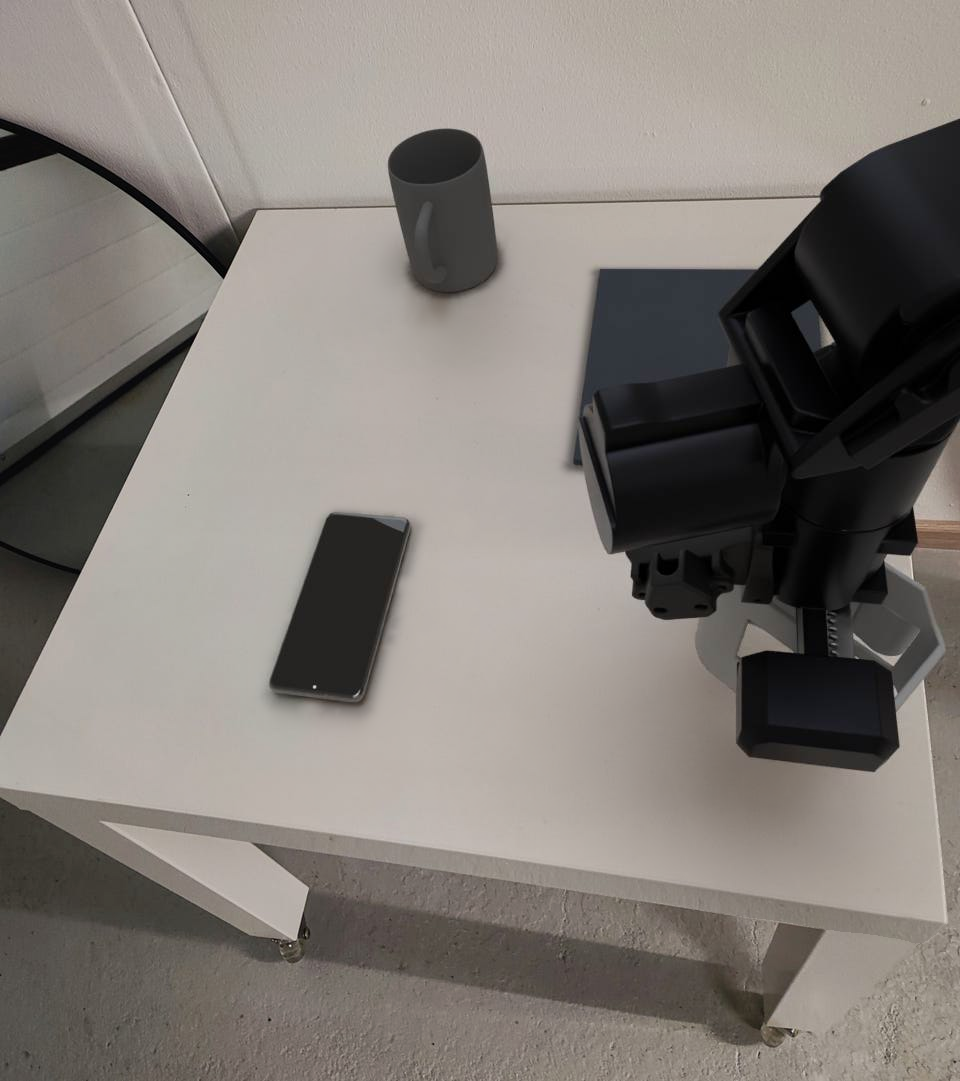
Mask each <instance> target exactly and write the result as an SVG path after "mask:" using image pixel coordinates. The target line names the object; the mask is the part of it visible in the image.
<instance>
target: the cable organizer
mask: <svg viewBox="0 0 960 1081" xmlns="http://www.w3.org/2000/svg"><path fill="white" fill-rule="evenodd" d="M885 570H886V579H887V588H888V595H887V596H886V598H885V600H884V601H883V603H882V605H880V604H867V603H855V602H851V614H852V626H853V635H855V636H856V637H858V638H859V640H861V641H862V642H863V643H864V645H863V643H861V642H860V641H858V640H856V639H855V638H854V651H855V658H856V659H865V660H875V661H876V662H878V663H880V664H881V665H883V666H884V667H886V668H887V669H889V670H890V671H892V678H893V688H894V689H895V691H896V695H894V697H895V707H896V713H897V712H898V711H899V710H900V709H901V707H903V705H904V704H905V703H906V701H907V700H908V699H909V698H910V697H911V695H912V694H913V693H914V691H915V690H916V689H917V688H918V687H919V686H920V684H921V683H922V682H923V681H924V680H925V678H926V677H927V675H928V674H930V672H931V671H932V670H933V668H934V667H935V666H936V665H937V664H938V662H939V661H940V660H941V659H942V657H943V656H944V655H945V654H946V653H947V648H946V644H945V640H944V637H943V635H942V632H941V630H940V628H939V625H938V623H937V620H936V617H935V614H934V609H933V607H932V603H931V600H930V596H929V593H928V590H927V588H926V587H925V585H923V584H921V583H920V582H918V581H916V580H915V579H913V578H911V577H910V576H909V575H907V574H905V573H903V572H902V571H900V570H899V569H897V568H895V567H894V566H892V565H891V564H890V563H888V562H887V561H885ZM826 613H827V611H826ZM826 618H827V620H828V618H831V617H829V616H827V614H826ZM748 625H752V626H754V627H757V628H759V629H761V630H762V631H764V632H765V633H766V634H768V635H769V636H771V637H772V638H774V640H777V641H778V642H779V643H781V644H782V645H783V646H785V647H786V648H788V649H789V650H790V651H791V653H797V634H796V609H795V607H792V606H789V605H787V604H784V603H782V602H780V601H779V600H777V599H776V597H775V596H773V599H772V602H771V603H770V604H767V605H766V604H754V603H742V602H741V585H734V589H733V591H731V592H729V593H723V594H721V595H720V596H719V597H718V598H717V610H716V612H714V613H713V614H712V615H710V616H709V617H702V618H698V622H697V626H696V630H695V634H694V645H695V646H694V647H695V651H696V654H697V656H698V658H699V660H700V662H701V664H702V665H703V667H704V668H705V669H706V670H707V671H708V672H709V673H710V674H711V675H712V676H713V677H715V678H716V679H717V680H719V681H720V682H721V683H722V684H723V685H725V686H726V687H727V688H728V689H730V690H731V691H732V692H734V694H736V685H737V662H740V660H741V657H740V656H739V655H738V654H739V651H740V648H741V644H742V641H743V639H744V637H745V634H746V630H747V628H748ZM830 625H831V624H828V623H827V629H828V627H829V626H830ZM829 633H832V632H829V631H828V630H827V635H829ZM830 641H833V640H830V639H828V644H829V642H830ZM865 645H866V646H867V647H866V646H865ZM869 648H870V649H869ZM830 649H834V648H831V647H829V646H828V651H830ZM873 651H874V652H873ZM878 654H879V655H881V656H885V657H898V656H900V657H899V658H897V661H896V662H895V663H894V665H892V664H891V663H890V662H888V661H887V660H885V659H884V658H883V657H881V656H879V655H878ZM829 656H832V655H829Z"/></svg>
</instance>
